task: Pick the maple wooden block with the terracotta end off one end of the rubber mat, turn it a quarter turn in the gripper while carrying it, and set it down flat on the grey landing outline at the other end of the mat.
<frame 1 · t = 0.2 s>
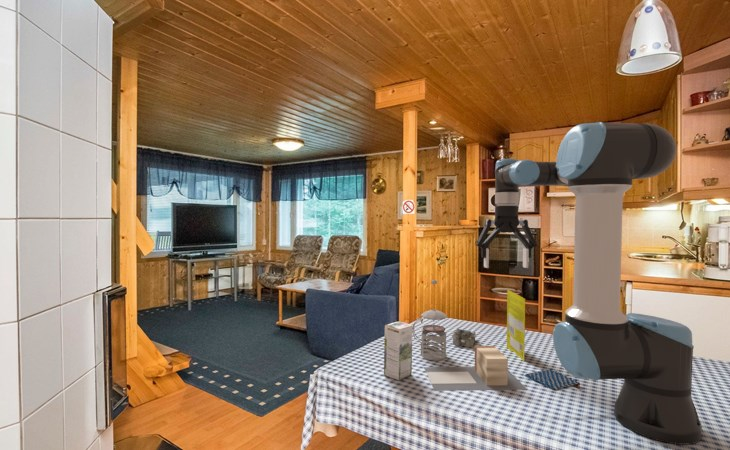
hand: (505, 267, 131), 28 cm above the table, tool pointing down, fingers open, 13 cm apart
maple block: (490, 377, 105), point 1 cm above the table, touching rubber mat
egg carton: (463, 343, 137), on the table
syrup box: (398, 375, 109), on the table
food package: (514, 355, 125), on the table
woven mat: (551, 385, 104), on the table
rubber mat: (472, 380, 105), on the table
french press: (430, 358, 122), on the table
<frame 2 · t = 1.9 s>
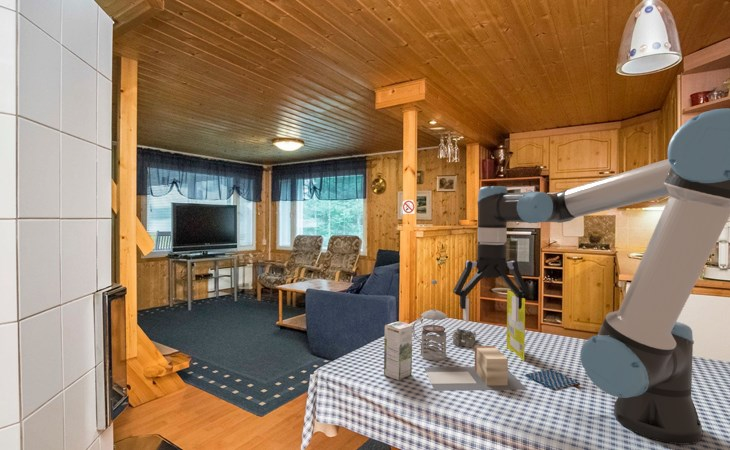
hand: (490, 320, 105), 16 cm above the table, tool pointing down, fingers open, 13 cm apart
nothing on the table moved.
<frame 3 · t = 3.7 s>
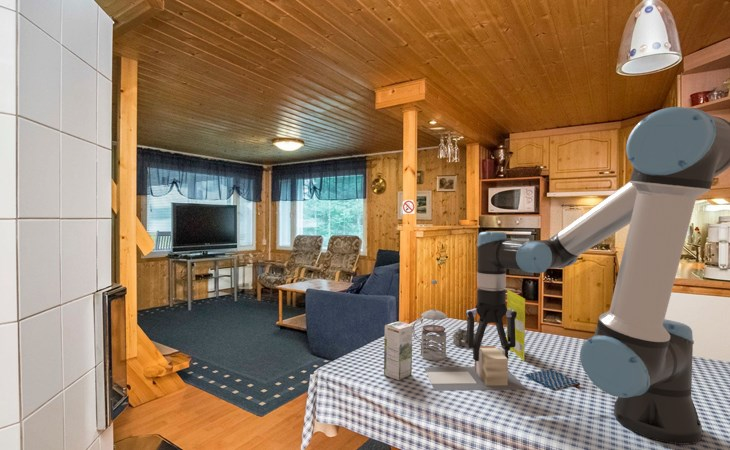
hand: (490, 371, 105), 2 cm above the table, tool pointing down, fingers closed on maple block, 5 cm apart
maple block: (490, 377, 105), point 1 cm above the table, touching gripper, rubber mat
everything else where it was.
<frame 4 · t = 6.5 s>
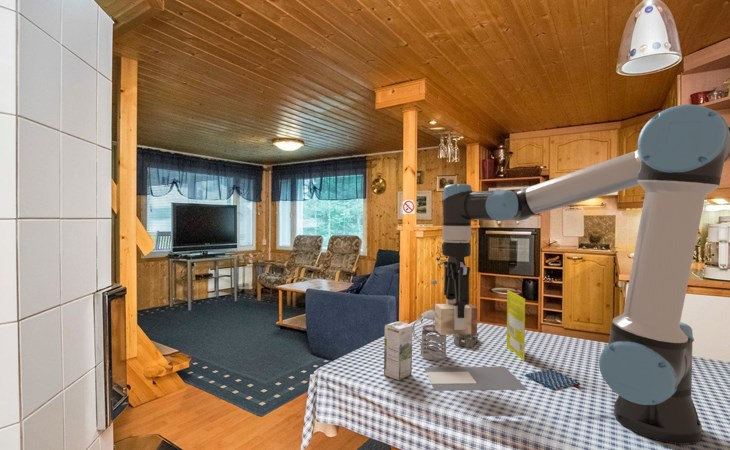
hand: (455, 325, 105), 15 cm above the table, tool pointing down, fingers closed on maple block, 5 cm apart
maple block: (455, 331, 105), point 14 cm above the table, touching gripper
everything else where it was.
when the fingers open (4 cm above the table, at t = 9.5 s): maple block drops 1 cm, resting on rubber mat.
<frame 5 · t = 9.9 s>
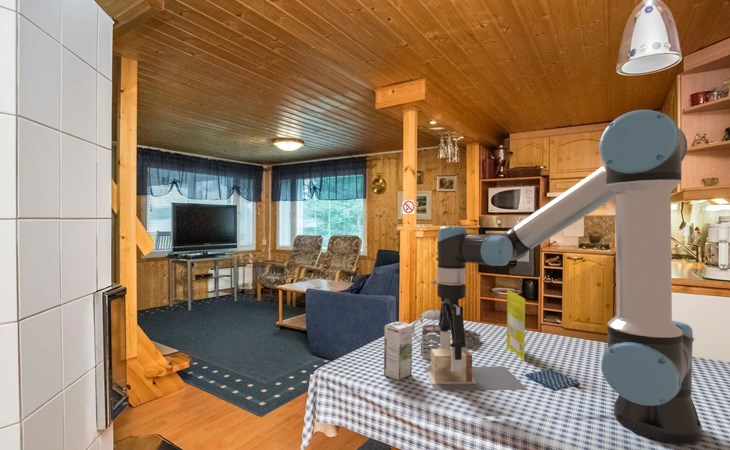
hand: (450, 361, 105), 5 cm above the table, tool pointing down, fingers open, 11 cm apart
maple block: (450, 377, 105), point 1 cm above the table, touching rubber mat
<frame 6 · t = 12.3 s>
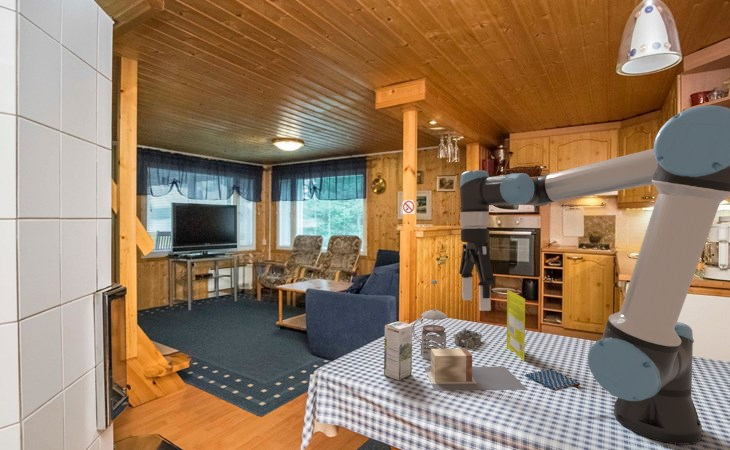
hand: (475, 305, 105), 21 cm above the table, tool pointing down, fingers open, 13 cm apart
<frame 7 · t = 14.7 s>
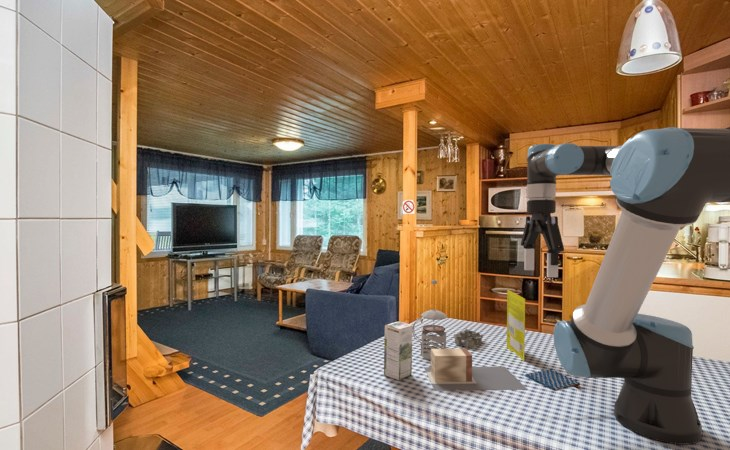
hand: (540, 273, 110), 29 cm above the table, tool pointing down, fingers open, 13 cm apart
at the end: maple block inside the target area (0.0 cm from its centre), point 0.9 cm above the table; maple block tilted 0°; the gripper is holding nothing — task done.
